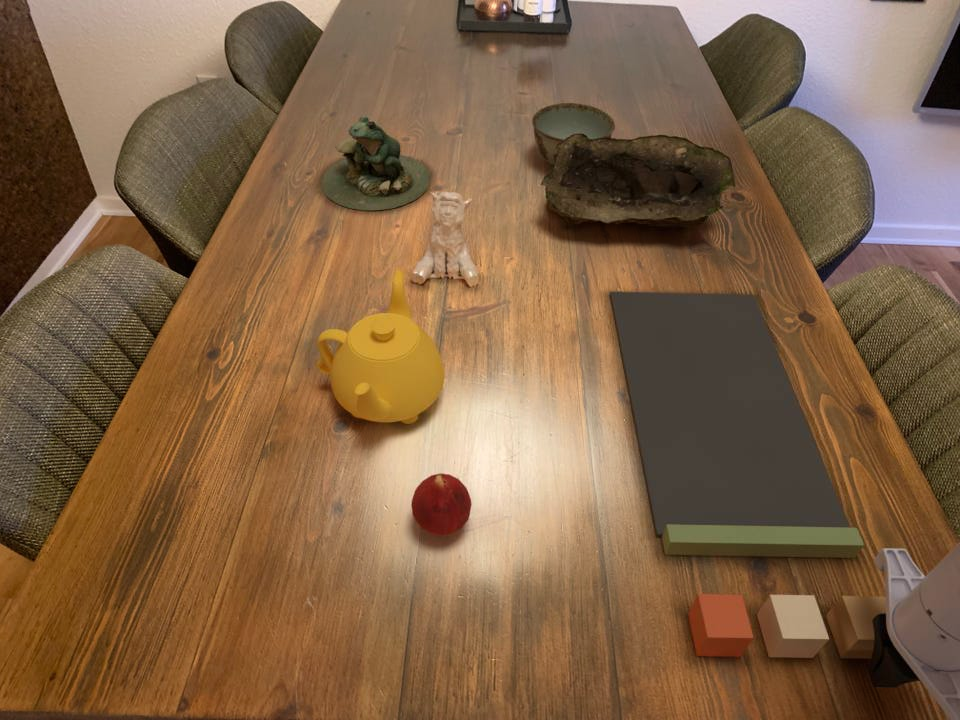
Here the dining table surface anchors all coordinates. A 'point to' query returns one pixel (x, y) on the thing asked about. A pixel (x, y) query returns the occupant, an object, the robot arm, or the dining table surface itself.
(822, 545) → the line board
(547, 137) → the bowl
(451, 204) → the sitting furry creature
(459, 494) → the onion
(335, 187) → the frog figurine
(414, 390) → the teapot
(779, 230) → the dining table surface
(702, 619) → the terracotta block
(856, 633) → the birch block
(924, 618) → the robot arm
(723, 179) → the hollow geode rock
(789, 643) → the ivory block
